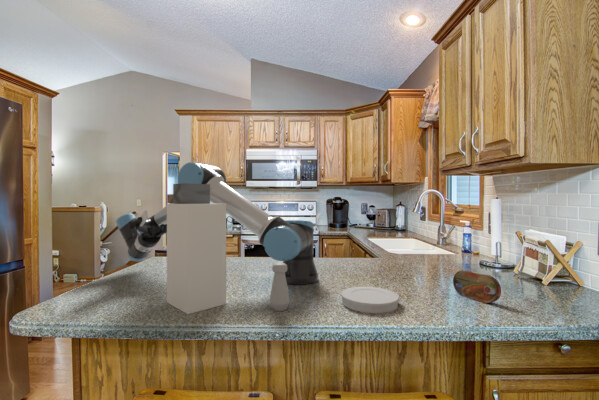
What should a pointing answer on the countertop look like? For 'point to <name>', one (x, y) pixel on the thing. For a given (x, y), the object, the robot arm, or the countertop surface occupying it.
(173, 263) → the pedestal
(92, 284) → the countertop surface
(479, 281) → the tin
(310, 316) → the countertop surface
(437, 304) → the countertop surface
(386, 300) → the lid
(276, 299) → the salt shaker
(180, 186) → the panel with wooden post
